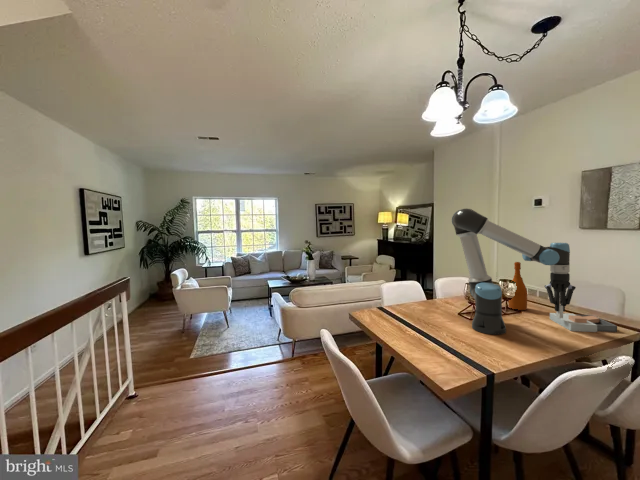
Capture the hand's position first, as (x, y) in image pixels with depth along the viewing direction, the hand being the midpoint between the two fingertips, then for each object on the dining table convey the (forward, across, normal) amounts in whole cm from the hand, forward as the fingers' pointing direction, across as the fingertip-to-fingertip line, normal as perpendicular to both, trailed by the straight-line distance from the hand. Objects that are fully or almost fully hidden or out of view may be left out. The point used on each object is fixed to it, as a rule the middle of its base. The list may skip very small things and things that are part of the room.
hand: (559, 317), depth 143 cm
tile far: (+2, +18, +8) cm, 20 cm away
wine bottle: (+5, -6, +32) cm, 33 cm away
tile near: (+2, +8, 0) cm, 8 cm away
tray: (+5, +18, +4) cm, 19 cm away
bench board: (+5, +7, +4) cm, 10 cm away
